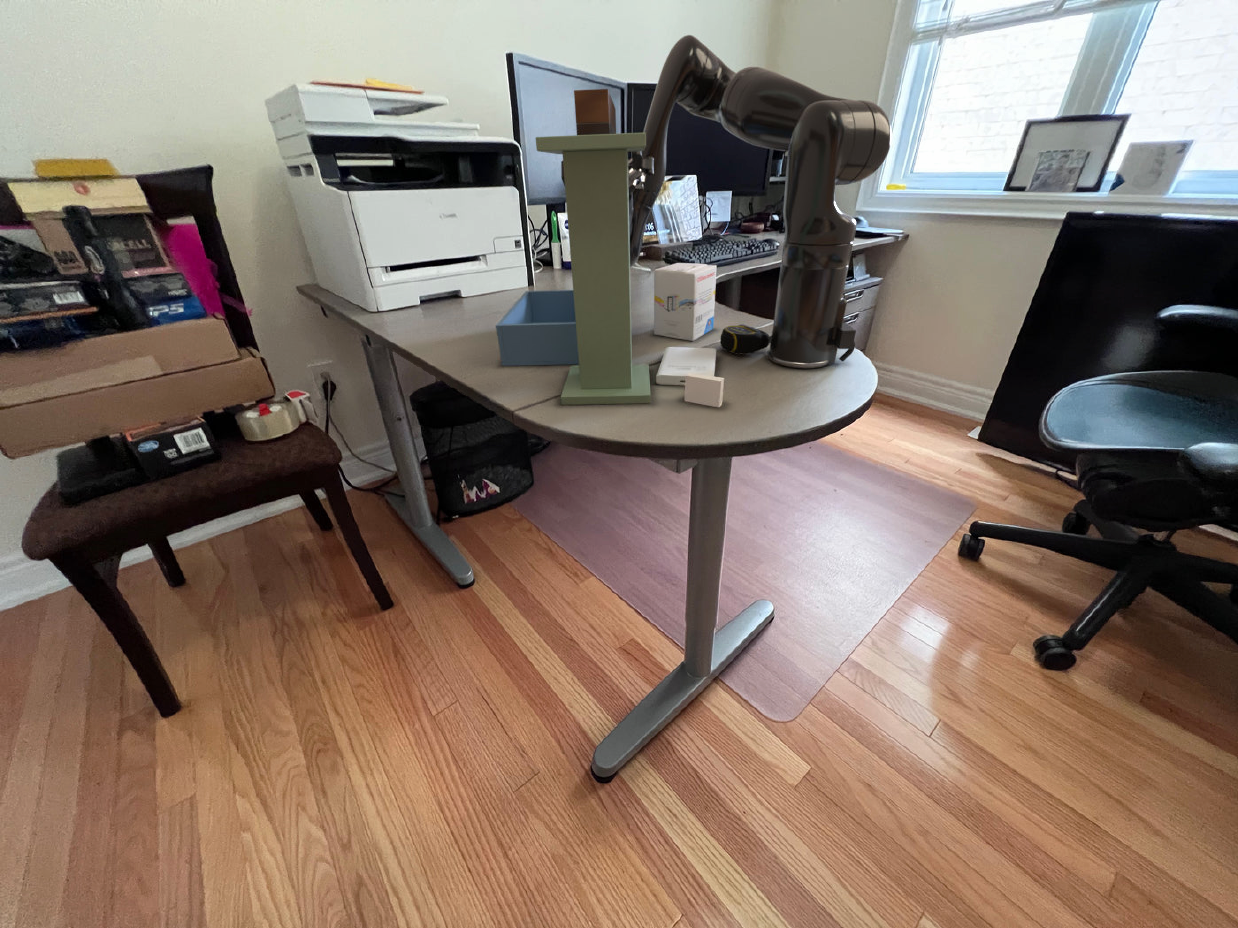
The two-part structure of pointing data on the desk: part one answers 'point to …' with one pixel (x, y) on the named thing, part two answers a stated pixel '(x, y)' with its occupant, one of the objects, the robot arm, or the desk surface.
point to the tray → (539, 330)
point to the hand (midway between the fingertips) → (604, 148)
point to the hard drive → (685, 364)
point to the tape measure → (743, 339)
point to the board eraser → (594, 112)
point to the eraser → (704, 389)
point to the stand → (600, 267)
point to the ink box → (684, 300)
